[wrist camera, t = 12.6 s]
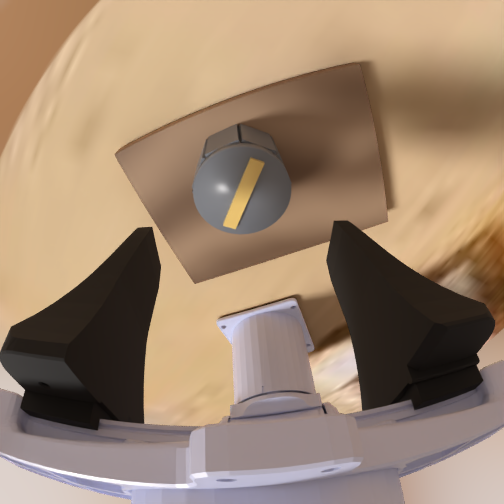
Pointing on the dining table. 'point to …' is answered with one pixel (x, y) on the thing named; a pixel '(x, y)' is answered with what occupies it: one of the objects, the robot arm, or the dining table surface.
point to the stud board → (295, 161)
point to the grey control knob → (241, 181)
